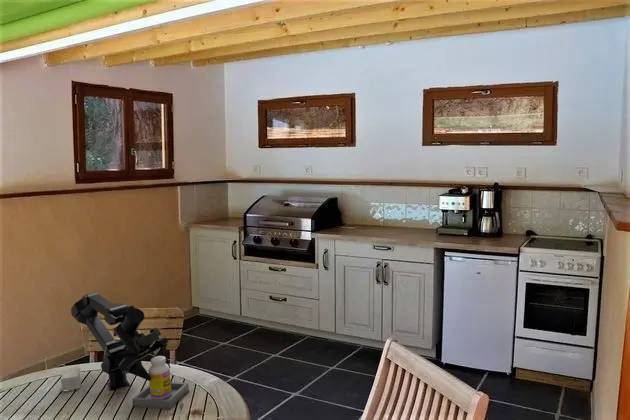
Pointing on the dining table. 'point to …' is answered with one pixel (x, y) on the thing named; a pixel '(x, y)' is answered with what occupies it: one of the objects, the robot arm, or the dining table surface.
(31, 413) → the dining table surface
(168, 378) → the supplement bottle
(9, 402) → the dining table surface
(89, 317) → the robot arm
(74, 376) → the small box
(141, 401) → the tray
